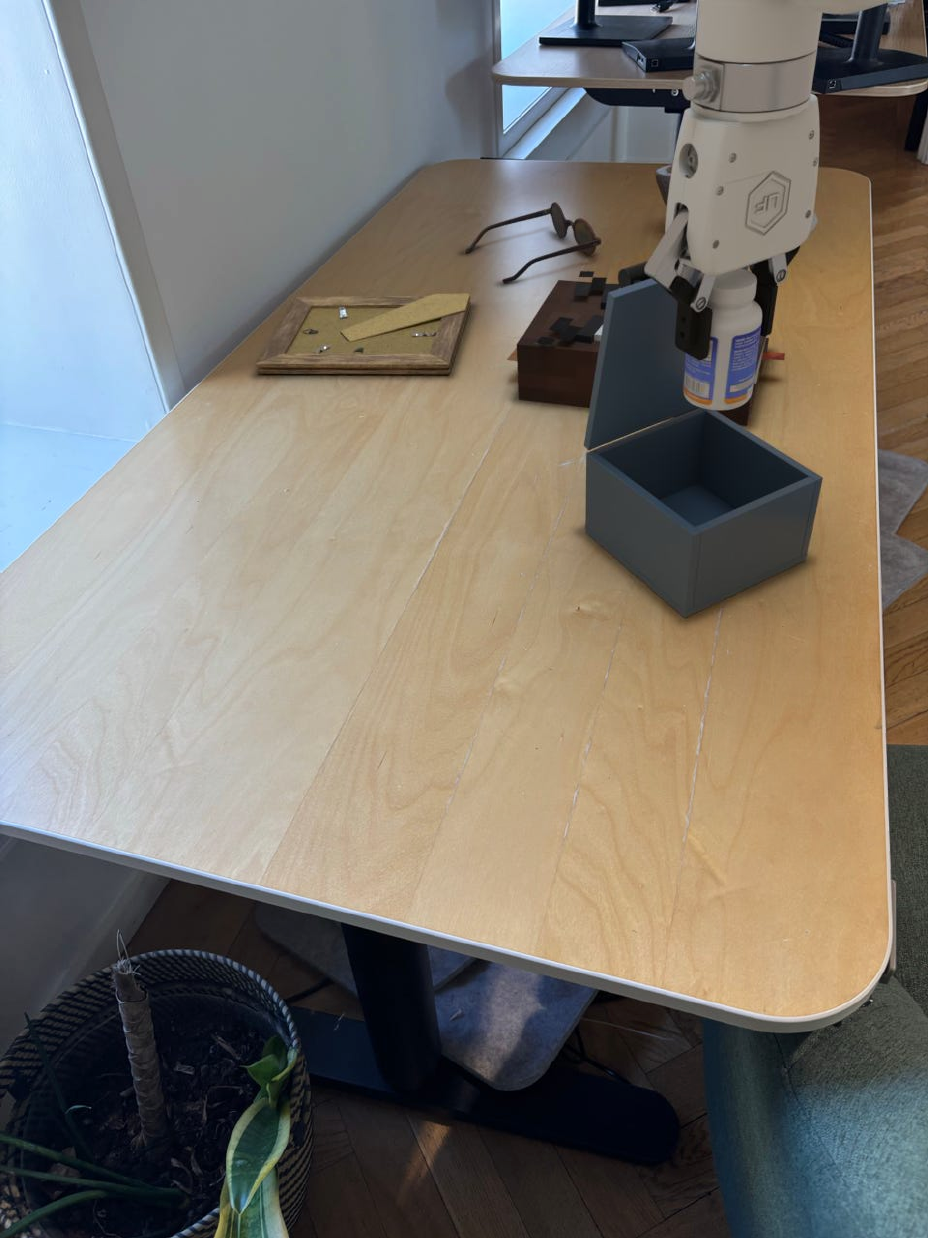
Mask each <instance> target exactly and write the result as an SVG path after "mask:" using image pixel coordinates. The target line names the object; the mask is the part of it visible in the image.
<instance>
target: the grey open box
mask: <svg viewBox="0 0 928 1238" xmlns="http://www.w3.org/2000/svg"><path fill="white" fill-rule="evenodd" d="M823 479H824V478H823V476H821V475H820V474H818V473H816V472H814V471H813V470H812V469H810V468H808V467H807V466H806V465H803V463H800V462H799V461H797V460H796V459H794V458H792V457H791V456H789V455H788V454H786V453H785V452H783V451H781V450H779V449H778V448H776V447H775V446H773V445H772V444H770V443H768V442H766V441H765V440H763V439H762V438H760V437H759V436H757V435H755V434H754V433H752V432H751V431H749V430H748V429H746V428H744V427H743V426H742V425H739V424H736V423H735V422H733V421H731V420H730V419H728V418H727V417H725V416H723V415H722V414H720V413H719V412H717V411H715V410H709V409H704V408H698V409H696V410H693V411H691V412H688V413H686V414H683V415H680V416H678V417H672V418H670V419H667V420H665V421H662V422H660V423H657V424H655V425H652V426H650V427H647V428H644V429H642V430H639V431H637V432H634V433H632V434H629V435H627V436H624V437H622V438H619V439H617V440H614V441H611V442H609V443H606V444H604V445H601V446H599V447H596V448H594V449H591V450H589V451H587V452H586V453H585V508H584V509H585V511H584V512H585V513H584V514H585V515H584V517H585V518H584V521H585V522H584V524H585V525H584V533H585V534H586V535H588V537H590V538H591V539H592V540H593V541H594V542H595V543H596V544H598V546H601V548H602V549H604V551H606V552H607V553H608V554H610V555H611V556H612V557H613V558H614V559H615V560H616V561H618V562H619V563H620V564H621V565H622V566H623V567H625V568H626V569H627V570H628V571H629V572H631V573H632V574H633V576H635V577H636V578H637V579H639V580H640V581H641V582H642V583H643V584H644V585H646V586H647V587H648V589H650V590H651V591H652V592H654V593H655V594H656V595H657V596H659V598H660V599H662V600H663V601H664V602H665V603H667V604H668V605H669V606H670V607H671V608H672V609H673V610H675V611H676V612H677V613H678V614H679V615H681V616H682V617H683V619H686V618H688V617H691V616H693V615H695V614H698V613H699V612H701V611H703V610H705V609H707V608H710V607H712V606H713V605H715V604H717V603H719V602H722V601H724V600H727V599H728V598H730V597H732V596H734V595H737V594H739V593H741V592H743V591H745V590H747V589H749V588H751V587H753V586H755V585H758V584H759V583H761V582H763V581H766V580H767V579H770V578H772V577H774V576H775V575H779V574H781V573H783V572H784V571H786V570H789V569H790V568H793V567H795V566H797V565H799V564H801V563H803V562H805V561H807V559H808V553H809V547H810V542H811V539H812V538H811V537H812V532H813V529H814V523H815V520H816V519H815V518H816V514H817V508H818V504H819V499H820V494H821V489H822V484H823Z"/></svg>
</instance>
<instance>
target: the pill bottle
mask: <svg viewBox="0 0 928 1238" xmlns="http://www.w3.org/2000/svg"><path fill="white" fill-rule="evenodd" d="M756 284H757V278H756V276H755V275H754V274H753V273H752V272H751V270H749V269H748V270H745V269H741V268H740V269H737V270H734V271H731V272H728V273H725V274H721V275H717V276H716V279H715V282H714V285H713V288H712V291H711V294H710V297H709V300H708V303H707V305H706V306H707V307H709V308H711V309H712V312H713V316H712V325H711V335H710V345H709V354H708V356H707V358H706V359H703V360H700V361H699V360H697V359H695V358H694V357H692V356H690V355H688V354H687V353H686V357H685V370H684V384H683V392H684V396H685V398H686V399H687V400H688V401H689V402H690V403H691V404H693V405H695V406H698V407H700V408H704V409H709V410H730V409H734V408H737V407H740V406H742V405H743V404H745V403H746V402H747V401H748V400H749V399H750V398H751V395H752V391H753V385H754V377H755V369H756V361H757V354H758V346H759V338H760V331H761V323H762V310H761V308H760V306H759V305H758V303H757V302H755V301H754V300H753V299H754V298H755V294H756Z"/></svg>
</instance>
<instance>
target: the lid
mask: <svg viewBox="0 0 928 1238" xmlns="http://www.w3.org/2000/svg"><path fill="white" fill-rule="evenodd" d="M680 261H681V260H680V258H678V260H677V262H676V264H675V267H674V268H675V271H676V272H677V270H678V267H679V264H680ZM647 262H648V260H645V261H642V262H640V263H639V262H638V263H636V264H633V265H630V266H627V267H623V268H621V269H620V270H618V274H617V282H618V284H619V285H620V287H621V289H618V290H615V291H612V292H609V293H608V298H607V304H606V310H605V316H604V323H603V329H602V335H601V341H600V347H599V353H598V359H597V366H596V372H595V378H594V384H593V390H592V396H591V403H590V407H589V409H588V414H587V415H588V416H587V421H586V428H585V429H586V430H585V435H584V440H583V447H584V448H585V449H586V450H587V451H592V450H594V449H597V448H599V447H602V446H604V445H607V444H609V443H612V442H614V441H617V440H620V439H622V438H625V437H627V436H630V435H632V434H635V433H637V432H640V431H642V430H645V429H647V428H650V427H653V426H655V425H658V424H660V423H663V422H665V421H668V420H670V419H673V418H675V416H678V415H680V414H683V413H685V412H688V411H690V410H693V409H695V408H698V406H695V405H693V404H691V403H690V402H689V401H688V400H687V399H686V398H685V396H684V392H683V384H684V370H685V357H686V353H685V352H683V351H682V350H680V349H678V348H677V347H676V345H675V331H676V318H677V305H678V302H677V301H676V300H674V299H672V298H671V296H670V294H669V293H668V292H667V291H666V290H664V289H663V288H662V287H661V285H660V284H658V283H657V282H655V281H654V280H653V279H651V278H650V277H649V276H648V275H646V274H645V272H644V268H645V265H646V264H647ZM741 269H745V270H748V271H749V266H746V267H743V268H741ZM699 274H700V272H698V271H696V270H695V272H694V275H693V278H692V281H691V285H692V286H693V287H694V288H695V286H696V283H697V280H698V277H699Z"/></svg>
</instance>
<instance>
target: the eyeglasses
mask: <svg viewBox="0 0 928 1238" xmlns="http://www.w3.org/2000/svg"><path fill="white" fill-rule="evenodd" d="M548 215H550V218H551V222H552V226H553V229H554V230H555V233H556V234H557V236H558V237H559V238H560V239H565V238H566V237H567V234H568V229H569V227H571V228H572V230H573V238H574V241H575V242H576V245H573V246H569V247H566V248H562V249H560V250H557V251H553V252H550V253H547V254H543V255H541V256H540V255H539V256H537V257H535V258H533V259H530V260H529V261H528V262H526V263H525V264H524V265H523V266H522V267H521V268H520V269H519V270H518V271H517V272H516V273H515V274H514V275H512V276H508V277H505V278H503V279H502V284H508V283H512V282H514V281H516V280H517V279H519V278H520V277H521V276H522V275H523V274H524V273H525V272H526V271H527V269H529V268H530V267H531V266H532V265H534V264H536V263H540V262H543V261H546V260H548V259H552V258H555V257H556V258H557V257H559V256H564V255H567V254H572V253H576V252H579V251H582V252H583V253H585V254H586V255H592V254H594V253H595V252H596V249H597V246H599V245H601V244H602V238H601V237H597V236H596V233H595V232H594V229H593V228H592V226H591V225H590V223H589V222H588V221H587V220H586V219H584V218H581V217H578V218H576V219H575V220H574V221H572V220H571V219H566V217H565V214H564V212H563V210H562V208H561V206H560V204H559V203H558V202H556V201H554V202H551V204H550V207H548V208H545V209H541V210H538V211H534V212H530V213H527V214H524V215H520V216H516V217H513V218H509V219H506V220H503V221H500V222H497V223H496V222H495V223H493V224H491V225H489V226H486V227H485V228H483V229H482V230H481V231H480V232H479V234H478V235H477V236H476V237H475V239H474V240H473V241H472V243H471V244H470V245H469V246H468V247H467V248H466V249H465V253H467V254H469V253H470V252H471V251H472V250H474V249H475V247H476V246H477V244H478V243H479V242H480V240H481V239H482V238H483V237H484V235H485V234H487V233H488V232H489V231H491V230H494V229H497V228H501V227H504V226H508V225H512V224H517V223H520V222H525V221H529V220H533V219H538V218H541V217H544V216H548Z"/></svg>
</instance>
